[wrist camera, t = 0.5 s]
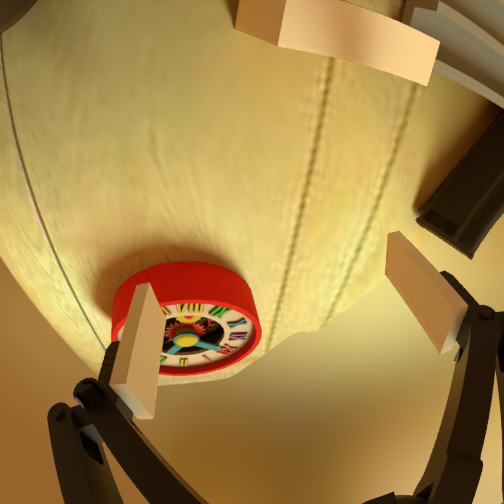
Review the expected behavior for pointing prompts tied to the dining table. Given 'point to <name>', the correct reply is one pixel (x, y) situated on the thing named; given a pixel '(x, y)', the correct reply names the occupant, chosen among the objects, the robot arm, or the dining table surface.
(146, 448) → the robot arm
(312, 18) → the picture frame
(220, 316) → the toy clock
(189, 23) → the dining table surface
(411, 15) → the notched rack
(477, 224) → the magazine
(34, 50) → the dining table surface
